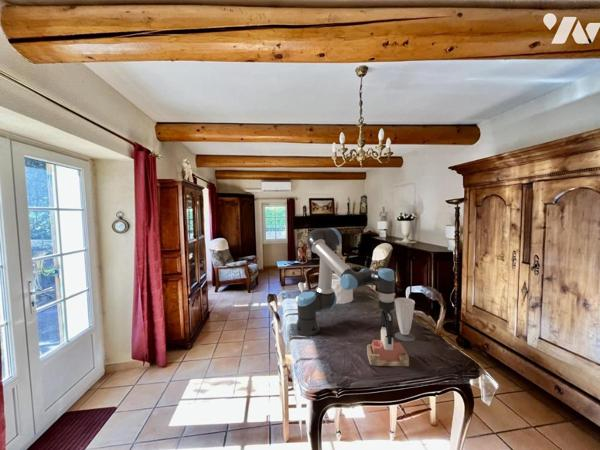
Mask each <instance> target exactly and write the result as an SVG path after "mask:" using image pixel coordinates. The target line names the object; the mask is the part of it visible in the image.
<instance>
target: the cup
mask: <svg viewBox="0 0 600 450" xmlns="http://www.w3.org/2000/svg"><path fill="white" fill-rule="evenodd" d="M394 302H395V308H394V309H395V313H396V320H397V323H398V328H399V331H398V332H395V333H394V338H396V339H397V340H399V341H402V342H413V341H415V340H416V336H415V335H414V334H412V333H410V331H411V328H412V323H413V317H414V311H415V304H416V302H415V300H414V299H412V298H407V297H397V298H396V297H395V298H394Z"/></svg>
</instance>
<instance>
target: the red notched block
mask: <svg viewBox="0 0 600 450" xmlns="http://www.w3.org/2000/svg"><path fill="white" fill-rule="evenodd" d="M371 344H372V354H379V356H380V360H390V361H399V355H404V349H405V348H404V349H403V347H404V346H403V345H402V343H401V342H395V341H394V340H393V350H385V349H384V347H383V344H382V342H381V339H380V340H379V339H372V342H371ZM402 346H403V347H402Z"/></svg>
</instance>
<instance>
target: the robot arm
mask: <svg viewBox="0 0 600 450" xmlns="http://www.w3.org/2000/svg"><path fill="white" fill-rule="evenodd" d="M341 243H342V236H341V233H340V231H339V230H338V229H336V228H334V227H328V228H327V227H326V228H316V229H313V230H311V231H310V232H309V233H308V235H307V237H306V245H307V247H308V248H309V250H310V251H311V252H312V253H314V254H316V255H317V256H319V271H318V283H317V284H318V286H316V287H315V292H314V291H303V293H301V292H300V293H299V295H297V296H298V301H297V304H298V305H297V304H296V305H297V321H296V324H295V332H296V334H298V335H300V336H306V337H308V336H311V337H312V336H314V335H315V336H316V335H317V334H318V333H319V332H320V325H319V322H318V319H317V313H319V312H322V311H326V310H329V309H332V308H334V307H335V306H336V301H337V297H336V294H335V292H334V290H333V289H332V274H337V275H338V276H339V277H340V278H341V279H340V283H341V285H342V287H343V288H344V289H345V290H351V289H353V290H355V289H359V288H362V287H366V286H375V287H378V288H377V290H378V291H377V293H378V297H377V298H378V308H379V309H380V311H381V313H380V326H381V329H386V333H387V336H385V337H386V350H392V338H393V339H394V338H395V335H394V325H393V323H394V321H393V315H392V312H391V311H393V310H394V309H396V308H395V301H394V300H395V296H396V293H395V271H394V270H393V269H391V268H386V267H385V268H383V267H382V268H379V269H377V270H375V269H370V268H361V269H360V270H359V271H357V272H356V271H354V270H353V269H352V268H351V267H350V266H349V265H348V264H347V263H346V262H345V261H344V260H342V258H341V257H339V256H338V255H337V253H336V252H337V250H338V246H340V244H341Z"/></svg>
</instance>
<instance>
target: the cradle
mask: <svg viewBox="0 0 600 450" xmlns="http://www.w3.org/2000/svg"><path fill="white" fill-rule="evenodd" d="M402 347H403V349H404V355H399V361H390V360H380V356H379V354H372V343H371V344H370V343H369V344H367V345H366V355H367V358H368V362H369V365H370V366H379V367H380V366H381V367H382V366H383V367H386V366H387V367H409V366H410V357H409V354H408V353H407V351H406V349H405V347H404V345H402Z"/></svg>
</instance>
